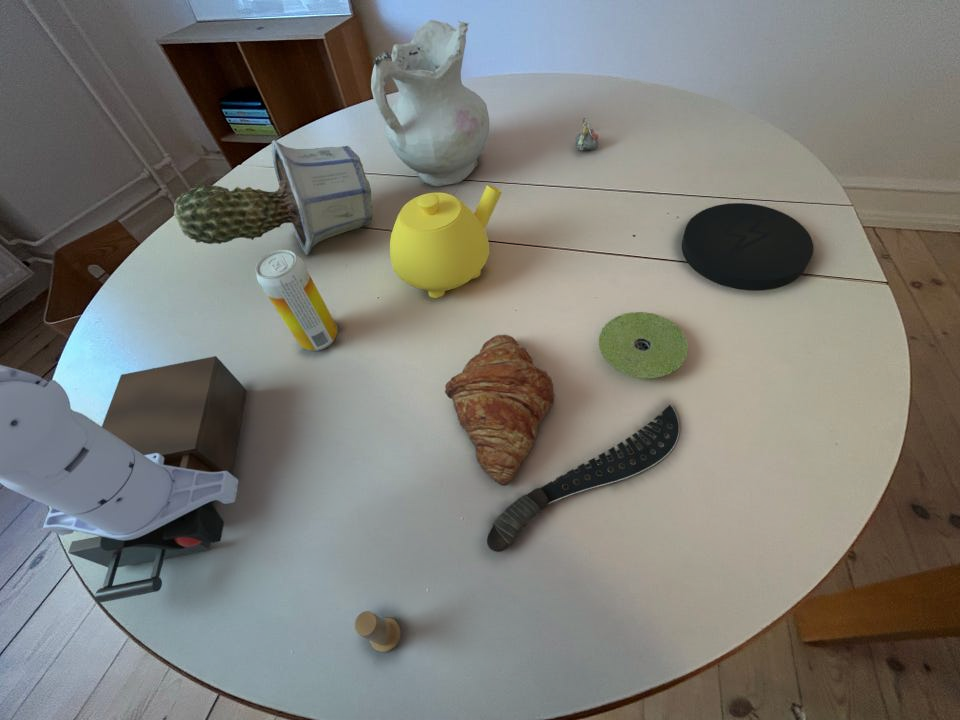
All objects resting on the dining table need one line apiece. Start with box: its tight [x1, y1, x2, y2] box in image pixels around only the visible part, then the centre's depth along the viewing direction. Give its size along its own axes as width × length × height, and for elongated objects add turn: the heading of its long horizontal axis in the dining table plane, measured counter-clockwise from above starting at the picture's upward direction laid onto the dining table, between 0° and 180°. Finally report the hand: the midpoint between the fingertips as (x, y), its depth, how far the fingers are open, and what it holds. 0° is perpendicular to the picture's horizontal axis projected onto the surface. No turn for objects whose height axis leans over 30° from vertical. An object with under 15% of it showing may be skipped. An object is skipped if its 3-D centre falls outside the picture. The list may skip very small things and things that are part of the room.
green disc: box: [598, 311, 689, 380], centre depth 65 cm, size 11×11×2 cm
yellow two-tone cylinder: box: [255, 249, 338, 352], centre depth 68 cm, size 6×6×15 cm
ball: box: [174, 537, 202, 547], centre depth 45 cm, size 3×3×3 cm
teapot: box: [389, 184, 503, 299], centre depth 75 cm, size 20×16×14 cm
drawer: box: [67, 453, 216, 604], centre depth 55 cm, size 17×11×6 cm, turn 9°
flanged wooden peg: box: [354, 610, 401, 653], centre depth 46 cm, size 3×3×7 cm
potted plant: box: [173, 139, 374, 255], centre depth 81 cm, size 18×18×30 cm
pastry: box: [444, 334, 556, 486], centre depth 60 cm, size 17×15×8 cm
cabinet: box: [101, 355, 248, 475], centre depth 62 cm, size 14×13×8 cm
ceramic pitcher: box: [370, 19, 490, 187], centre depth 88 cm, size 22×20×25 cm
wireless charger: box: [681, 202, 814, 291], centre depth 74 cm, size 18×18×2 cm
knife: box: [486, 404, 680, 553], centre depth 55 cm, size 28×2×5 cm
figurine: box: [575, 117, 599, 151], centre depth 95 cm, size 5×4×6 cm
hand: (201, 535), depth 46 cm, fingers closed on ball, 3 cm apart
